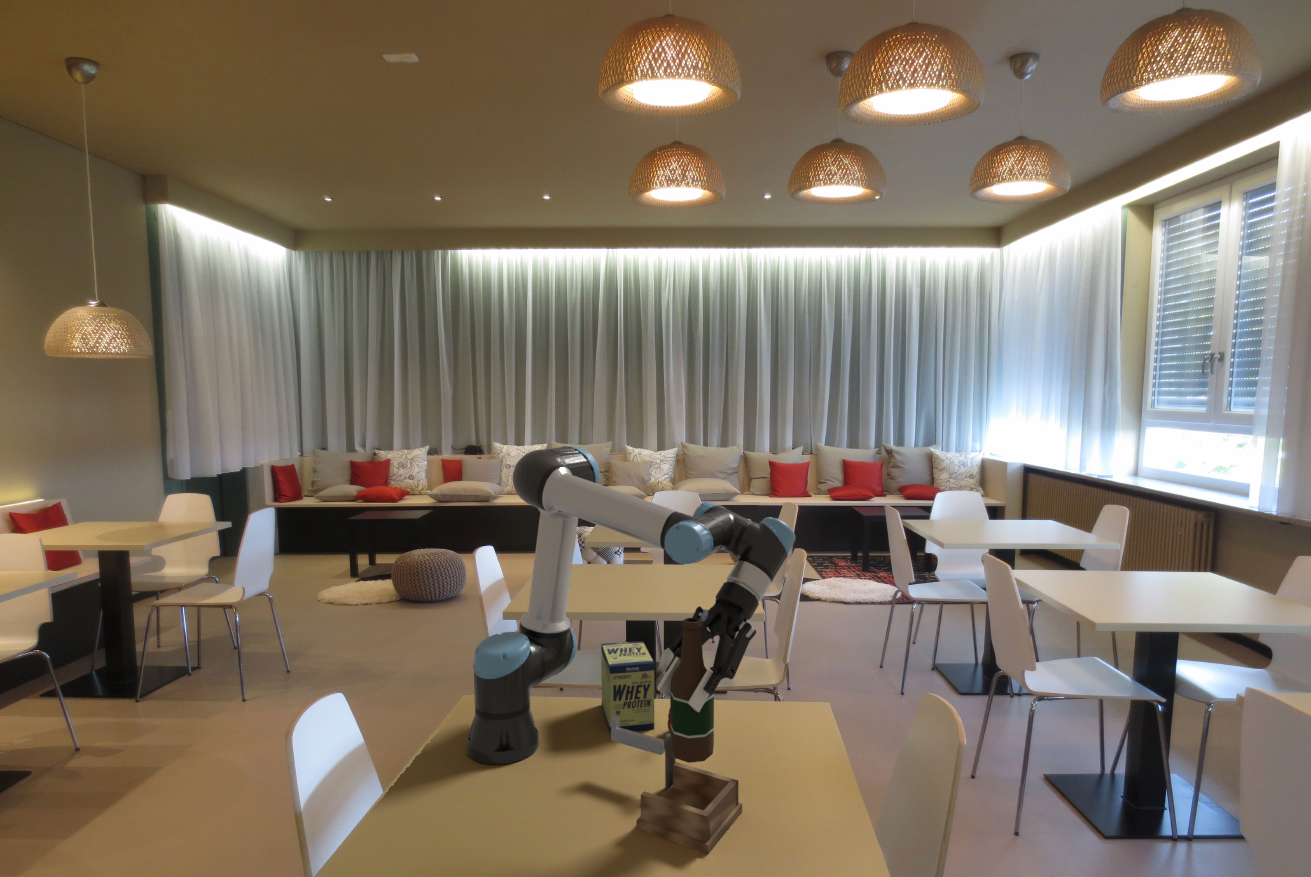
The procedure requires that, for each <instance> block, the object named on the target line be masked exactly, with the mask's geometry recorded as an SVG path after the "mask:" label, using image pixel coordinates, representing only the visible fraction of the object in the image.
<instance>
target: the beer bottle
mask: <svg viewBox="0 0 1311 877" xmlns="http://www.w3.org/2000/svg"><path fill="white" fill-rule="evenodd" d="M681 627H682V630H683V639H682V655H681V661H680V665H679V666H678V667H677V669H676V670H675V672H674V674H673V677H672V679H671V688H670V694H669V696H670V701H669V702H670V705H669V709H670V731H669V733H670V741H671V750H672V752H673V754H674V756H675V758H676V760H680V761H682V762H686V763H700V762H705V761H706V760H707V759H709V758H710V757H711V756H712V755H713V753H714V744H715V743H714V741H715V739H714V738H715V731H714V730H715V724H714V723H715V701H714V700H715V692H714V693H713V694H712V695H710V694H709V696H708V698H707V700H706V701H705V703H704V705H703V706H702V708H701V710H700V712H697V711H695V710H694V709H693V708H692V707H691V706H690V705H689V704H688V702H689V700H690V698H691V697H692V695H693V693H694V692H695V690H696V688H697V687H698V685H699V683H700V681H701V680H702V678H703V676H704V675H705V673H706V671H707V670H708V669H707V667H706V666H705V661H704V657H703V645H702V635H701V628H702V627H703V625H702V621H701V620H700V619H698V618H692V617H686V618H684V619H683V620H682V622H681Z"/></svg>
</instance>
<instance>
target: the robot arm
mask: <svg viewBox="0 0 1311 877" xmlns="http://www.w3.org/2000/svg"><path fill="white" fill-rule="evenodd" d="M599 467H600V466H599V464H598V462H597V460H596V459H595V458H594V456H593V455H592V453H591V452H590V451H589V450H586V449H585V448H582V447H579V446H568V445H563V446H560V447H553V448H546V449H534V450H532V451H529V452H527V453H526V454H525V455H522V457H521V458H520V459H519V460H518V461H517V463H516V464H515V467H513V468H514V469H513V472H512V484H513V487H514V488H513V489H514V491H515V493H516V495H517V496H519V498H520V499H521V500H522V501H524V502H525V503H526V504H528V505H529V506H532V507H534V508H537V510H538V512H540V514H539V521H538V522H539V523H538V529H537V536H536V544H535V545H536V546H535V552H534V553H535V554H534V560H533V569H532V575H531V576H532V577H531V584H530V585H531V587H530V594H529V601H528V607H527V608H528V609H527V612H526V613H524V614H523V615H521V617H520V621H519V627H518V632H517V631H516V632H515V631H505V632H502V633H496V634H492V635H490V636H488V637H485V639H482V640H481V641H480V642H479V643H478V645H477V646H476V648H475V650H474V657H473V658H474V660H473V665H472V666H473V668H472V669H473V682H474V683H473V684H474V685H473V686H474V692H473V693H474V716H473V719H472V722H471V727H470V730H469V734H468V736H467V740H466V753H467V756H468V757H469V758H470V759H472V760H473V761H475V762H478V763H481V764H485V765H486V764H487V765H506V764H511V763H515V762H519V761H522V760H524V759H526V758H528V757H530V756H532V755H533V754H534V753H535V752H536V751H537V750H538V748H539V744H540V740H539V739H540V738H539V736H540V735H539V730H538V728H537V727H536V725H535V720H534V717H533V714H532V711H531V689H533V688H534V687H535V686H537V685H539V684H541V683H542V682H545V681H546V680H548V679H551V678H552V677H554V676H556V675H558V674H559V673H561V672H563V671H564V670H565V669H566V668H568V667H569V666H570V664H572V662H573V660H574V659H575V656H576V653H577V648H578V640H577V635H575V634H574V630H573V627H571V625H572V623H571V620H570V619H569V618H568V617H567V615H566V613H567V605H568V599H569V598H568V596H569V589H570V584H571V576H572V575H571V574H572V568H573V562H574V561H573V560H574V554H575V546H576V538H577V531H578V524H579V519H581V520H584V521H587V522H589V523H591V524H595V525H596V526H600V527H603V528H605V529H608V530H611V531H613V532H616V533H618V534H621V535H623V536H627V537H629V538H632V539H634V540H637V541H639V542H643V543H645V544H648V545H651V546H654V547H655V548H659V549H662V550H664V551H666V553H667V555H668V556H669V557H670V558H671V559H672V560H673V561H674V562H676V563H677V564H681V565H690V564H695V563H696V564H697V563H700V562H702V561H703V560H704V559H707V558H708V557H710V556H711V555H713V554H716V553H718V552H720V551H724V552H726V553H729V554H731V555H732V556H735V557H736V558H738V559H737V561H736V563H735V564H734V566H733V568H732V569H731V571H730V572H729V574H728V575H727V577H726V581H725V582H723V583H722V585H721V587H720V588H719V591H718V592H717V594H715V602H714V604H713V605H712V606H711V607H710V608H709V609H705V608H702V606H699V605H698V606H697V607H696V608H695V611H694V614H693V616H692V617H691V618H698V619H700V620H701V621H702V625H703V627H702V628H701V635H702V646H703V645H704V644H706V643H707V642H708V641H709V640H712V639H714V638H715V637H716V636H719V639H718V644H717V648H716V652H715V655H714V656H715V657H714V659H713V660H714V661H713V665H712V666H709V669H710V670H708V669H707V671H706V673H705V675H704V676H703V678H702V680H701V681H700V683H699V685H698V687H697V688H696V690H695V692H694V693H693V695H692V697H691V698H690V700H689V702H688V704H689V705H690V706H691V707H692V708H693V709H694V710H695V711H697V712H700V710H701V708H702V706H703V705H704V703H705V701H706V700H707V698H708V696H709V694H710V695H712V694H713V693H714V694H715V691H716V689H717V687H718V686H719V684H720V683H721V681H722V680H724V679H728V680H733V679H734V678H735V676H736V674H737V671H738V670H739V667H740V664H741V663H742V662H741V661H742V660H743V658H744V655H745V653H746V651H747V649H748V646H749V643H750V642H751V640H752V639H753V638H754V636H756V635H757V630H756V629H755V628H754V627H753V626H752V625H751V623H750V622H747V621H748V620H749V621H750V620H751V619H752V617H753V615H754V614H755V612H756V611H757V608H758V607H759V605H760V603H759V602H761V601H762V599H763V598H764V596H765V594H766V592H767V591H768V590H769V587H770V586H771V585H772V582H773V581H774V579H775V577H776V576H777V573H778V572H779V570H780V569H781V568H782V566H783V564H784V562H785V561H786V559H787V558H788V557H789V553H790V552H791V550H792V547H793V545H794V543H795V541H796V534H795V532H794V530H793V528H792V527H791V526H790V525H789V524H787V523H786V522H784V521H782V520H781V519H779V518H776V517H771V516H768V517H765V518H763V519H762V520H761V521H759V523H757V522H755V521H752V520H750V519H748V518H745V517H744V516H741V515H739V514H737V513H736V512H733V511H731V510H729V509H727V508H725V506H723V505H720V504H717V503H714V502H711V501H707V500H706V501H704V502H703V501H702V503H701V504H700V505H699V506H697V508H696V509H695V510H694V512H693V514H692V516H691V515H689V514H686V513H683V512H680V511H678V510H676V509H672V508H669V507H665V506H663V505H660V504H658V503H654V502H651V501H650V500H645V499H643V498H640V497H636V496H634V495H631V494H629V493H625V492H622V491H619V490H617V489H613V488H611V487H607V486H605V485H603V484H602V485H601V484H600V480H601V472H600V468H599ZM682 639H683V629H682V630H681V631H680V633H679V634H678V635H677V637H676V638H675V639H674V640H673V641H672V643H671V644H670V646H669V647H668V649H669V650H670V652H671V653H672V654H673V657H672V659H671V660H670V663H669V664H668V665H667V667H666V669H665V674H664V676H663V677H662V679H661V681H660V682H659V684H658V686H657V687H656V689H657V690H658V691H660V692H661V694H663V696H665V697H667V698H668V697H669V696H670V688H671V679H672V677H673V674H674V672H675V670H676V669H677V667H678V666H679V665H680V661H681V655H682Z"/></svg>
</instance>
